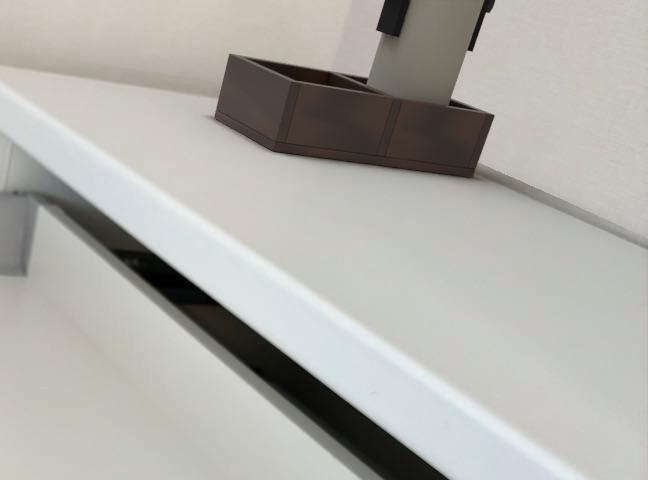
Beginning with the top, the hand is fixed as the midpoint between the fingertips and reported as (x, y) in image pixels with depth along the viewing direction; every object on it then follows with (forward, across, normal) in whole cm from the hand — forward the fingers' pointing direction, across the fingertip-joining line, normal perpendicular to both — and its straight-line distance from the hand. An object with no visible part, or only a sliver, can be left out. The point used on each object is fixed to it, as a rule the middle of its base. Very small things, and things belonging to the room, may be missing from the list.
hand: (424, 40), depth 102 cm
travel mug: (+5, 0, 0) cm, 5 cm away
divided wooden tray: (+10, +5, 0) cm, 12 cm away
